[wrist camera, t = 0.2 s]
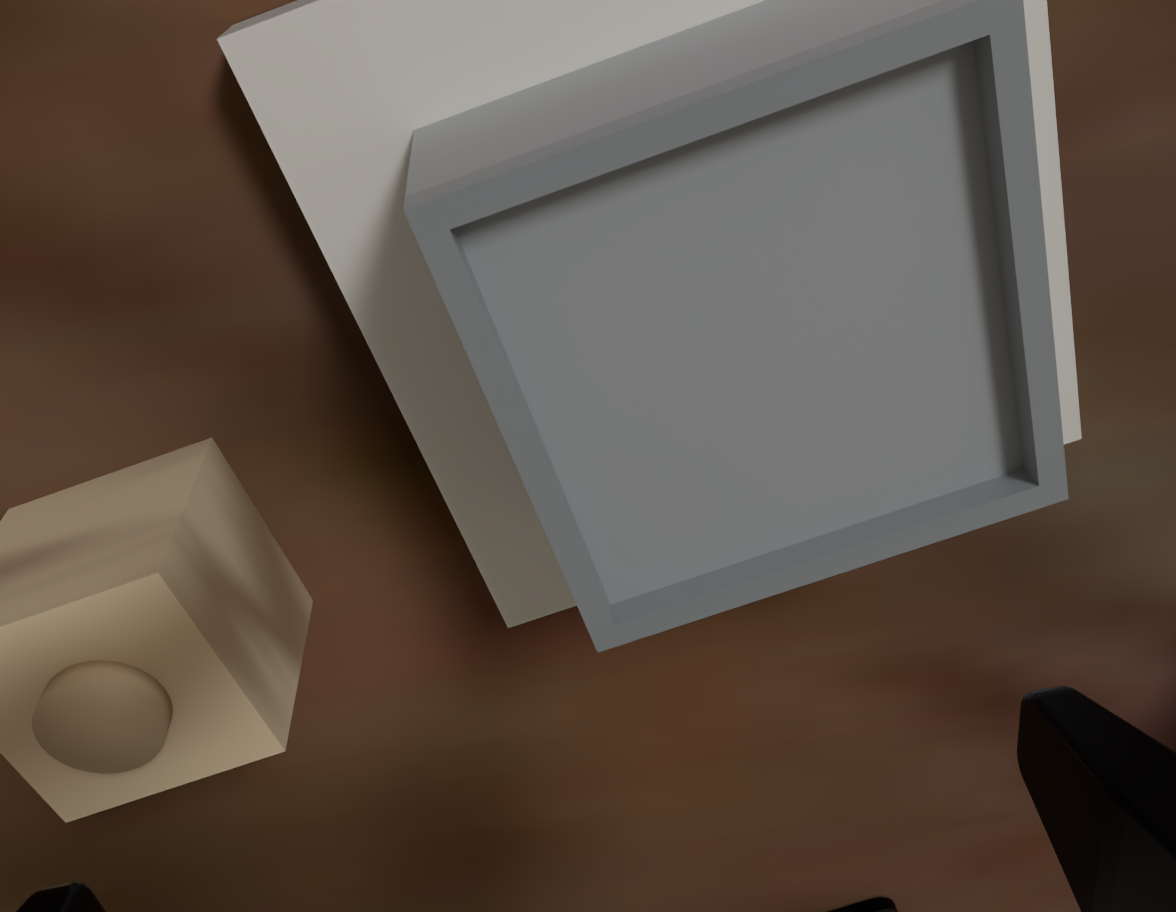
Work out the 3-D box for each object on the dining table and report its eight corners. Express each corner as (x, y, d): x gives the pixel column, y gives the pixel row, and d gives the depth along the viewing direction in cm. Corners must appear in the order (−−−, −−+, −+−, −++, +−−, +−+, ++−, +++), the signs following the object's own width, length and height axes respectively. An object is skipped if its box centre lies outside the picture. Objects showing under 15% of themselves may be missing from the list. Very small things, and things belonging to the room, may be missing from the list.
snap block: (313, 598, 26) (281, 773, 21) (129, 660, 26) (56, 846, 21) (212, 436, 23) (149, 593, 18) (10, 507, 23) (-104, 680, 19)
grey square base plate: (1049, 407, 25) (1205, 558, 20) (505, 589, 26) (518, 777, 21) (984, -263, 18) (1203, -302, 13) (233, 24, 19) (147, 99, 14)
